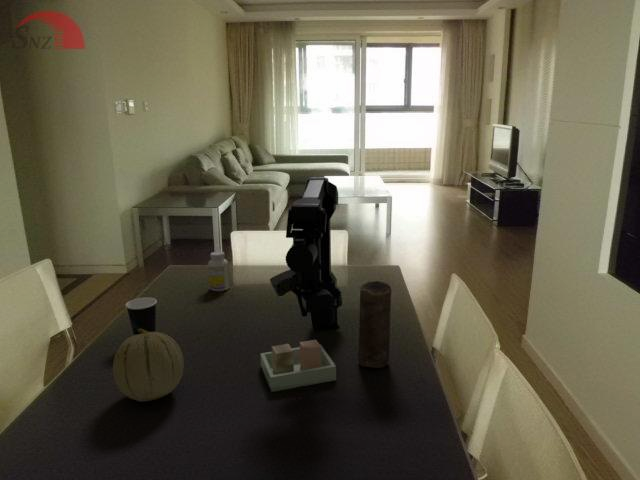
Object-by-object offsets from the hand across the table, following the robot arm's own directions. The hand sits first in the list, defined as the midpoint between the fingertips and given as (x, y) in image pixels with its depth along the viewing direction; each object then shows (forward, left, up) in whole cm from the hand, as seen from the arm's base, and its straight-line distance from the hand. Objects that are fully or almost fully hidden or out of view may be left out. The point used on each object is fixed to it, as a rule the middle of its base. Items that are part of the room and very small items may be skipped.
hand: (309, 323), depth 119 cm
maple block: (+7, 0, -11) cm, 13 cm away
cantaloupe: (+36, -1, -12) cm, 38 cm away
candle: (-15, +2, -12) cm, 20 cm away
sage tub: (+3, 0, -12) cm, 12 cm away
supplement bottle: (+14, -66, -12) cm, 69 cm away
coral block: (0, 0, -11) cm, 11 cm away
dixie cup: (+38, -31, -12) cm, 50 cm away
